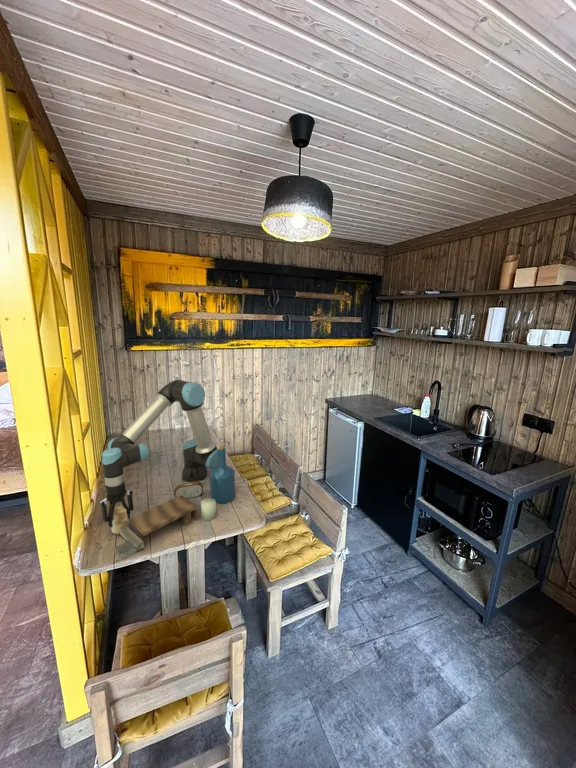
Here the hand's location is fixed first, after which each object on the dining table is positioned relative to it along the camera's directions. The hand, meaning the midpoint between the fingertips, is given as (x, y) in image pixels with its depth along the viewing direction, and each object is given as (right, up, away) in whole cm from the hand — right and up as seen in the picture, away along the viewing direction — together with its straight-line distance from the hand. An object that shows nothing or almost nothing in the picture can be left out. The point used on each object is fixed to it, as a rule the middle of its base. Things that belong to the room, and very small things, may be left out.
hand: (120, 528), depth 146 cm
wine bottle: (+42, +4, +28) cm, 50 cm away
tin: (+23, +4, +28) cm, 36 cm away
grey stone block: (+9, -4, -13) cm, 16 cm away
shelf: (+19, -1, +4) cm, 20 cm away
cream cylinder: (+38, +1, +12) cm, 39 cm away
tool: (+7, -1, -5) cm, 9 cm away
